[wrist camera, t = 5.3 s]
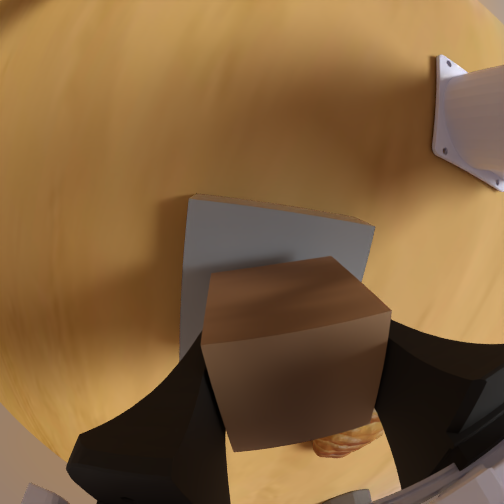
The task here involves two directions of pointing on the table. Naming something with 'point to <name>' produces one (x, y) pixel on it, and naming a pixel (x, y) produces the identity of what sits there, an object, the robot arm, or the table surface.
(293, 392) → the walnut cube
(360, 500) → the coffeepot
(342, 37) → the table surface
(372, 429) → the pastry
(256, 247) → the block
